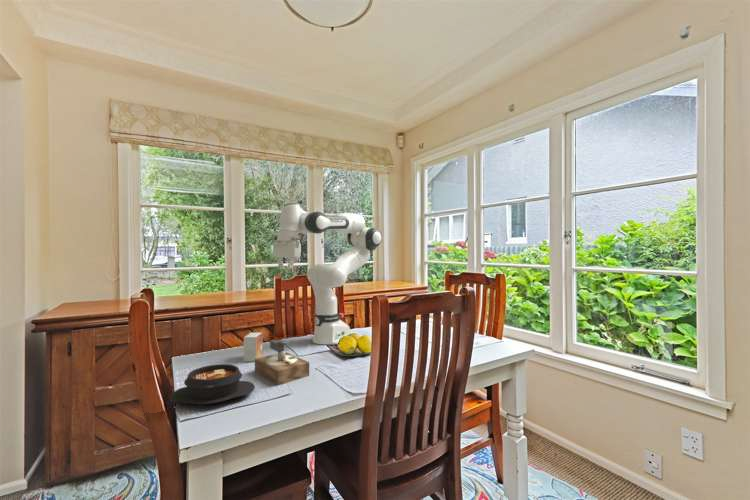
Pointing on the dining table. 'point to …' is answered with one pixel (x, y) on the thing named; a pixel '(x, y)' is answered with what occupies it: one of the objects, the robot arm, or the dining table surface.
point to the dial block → (281, 368)
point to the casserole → (212, 385)
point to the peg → (279, 349)
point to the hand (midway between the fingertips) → (285, 267)
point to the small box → (253, 346)
